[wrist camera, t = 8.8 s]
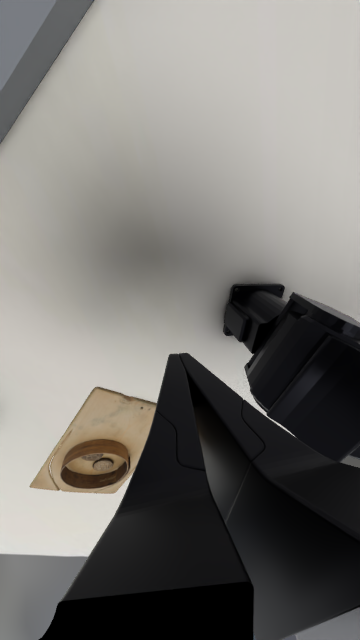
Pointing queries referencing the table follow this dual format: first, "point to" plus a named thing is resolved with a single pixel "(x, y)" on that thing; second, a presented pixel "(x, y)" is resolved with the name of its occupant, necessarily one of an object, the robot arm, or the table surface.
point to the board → (99, 445)
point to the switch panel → (31, 47)
